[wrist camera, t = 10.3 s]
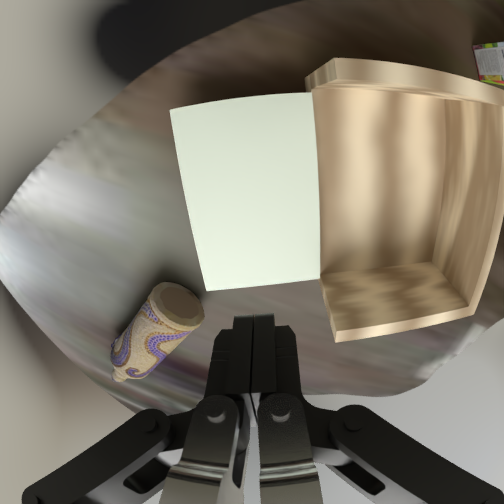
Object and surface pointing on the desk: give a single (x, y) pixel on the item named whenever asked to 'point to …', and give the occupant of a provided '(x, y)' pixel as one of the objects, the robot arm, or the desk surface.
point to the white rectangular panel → (251, 188)
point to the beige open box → (405, 193)
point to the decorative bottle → (155, 331)
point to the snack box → (490, 62)
